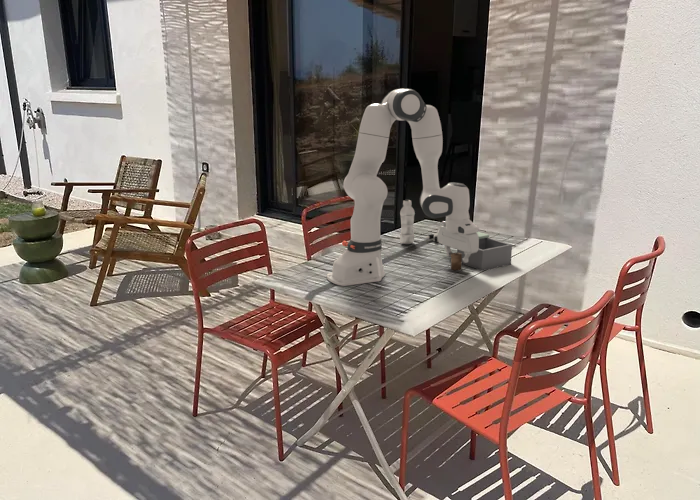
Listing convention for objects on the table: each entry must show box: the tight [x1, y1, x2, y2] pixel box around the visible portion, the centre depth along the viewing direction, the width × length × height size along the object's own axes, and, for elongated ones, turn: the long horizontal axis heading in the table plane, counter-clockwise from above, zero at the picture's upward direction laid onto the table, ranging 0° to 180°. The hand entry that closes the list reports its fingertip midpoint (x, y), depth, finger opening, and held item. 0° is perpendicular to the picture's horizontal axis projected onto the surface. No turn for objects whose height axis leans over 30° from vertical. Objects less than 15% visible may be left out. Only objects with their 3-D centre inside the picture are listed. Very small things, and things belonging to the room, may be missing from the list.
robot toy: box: [425, 229, 439, 243], centre depth 260 cm, size 12×4×15 cm
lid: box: [476, 231, 490, 239], centre depth 233 cm, size 15×15×3 cm
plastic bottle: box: [399, 199, 416, 245], centre depth 252 cm, size 6×7×20 cm
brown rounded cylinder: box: [450, 252, 463, 271], centre depth 217 cm, size 4×4×6 cm
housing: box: [456, 237, 513, 272], centre depth 224 cm, size 15×15×8 cm
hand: (457, 259), depth 218 cm, fingers open, 8 cm apart
